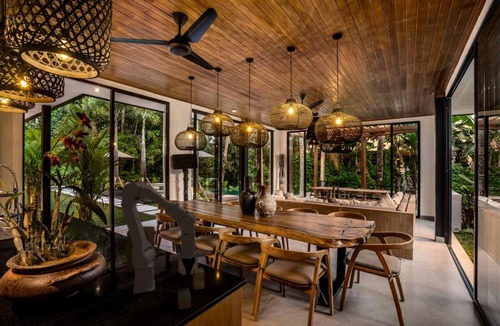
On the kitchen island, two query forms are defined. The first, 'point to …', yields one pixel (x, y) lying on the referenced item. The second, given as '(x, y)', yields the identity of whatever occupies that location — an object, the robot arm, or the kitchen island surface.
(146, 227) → the block
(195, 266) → the jar
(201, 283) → the rust face block
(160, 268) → the kitchen island surface
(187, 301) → the teal face block
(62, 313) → the kitchen island surface
